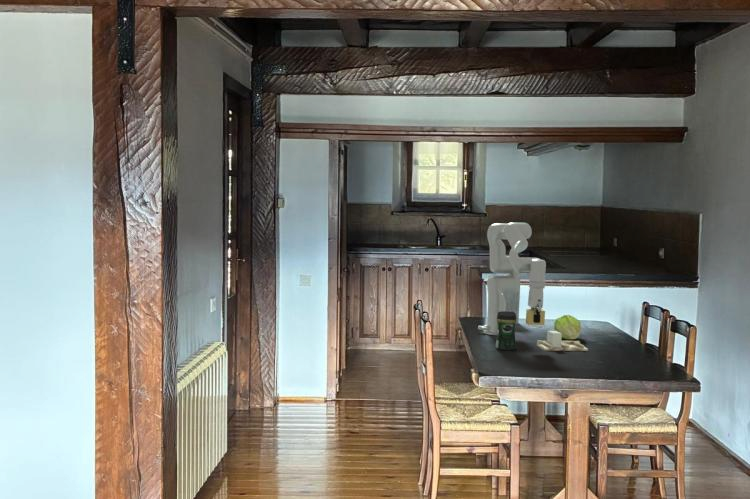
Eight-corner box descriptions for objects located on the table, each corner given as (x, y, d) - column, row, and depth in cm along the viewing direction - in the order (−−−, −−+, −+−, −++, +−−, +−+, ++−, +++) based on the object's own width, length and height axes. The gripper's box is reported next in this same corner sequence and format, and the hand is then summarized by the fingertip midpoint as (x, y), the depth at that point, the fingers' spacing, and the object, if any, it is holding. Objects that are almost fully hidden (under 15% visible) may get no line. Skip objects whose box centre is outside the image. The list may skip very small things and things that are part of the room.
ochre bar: (528, 324, 372) (529, 310, 371) (525, 323, 376) (526, 309, 376) (544, 325, 372) (545, 310, 372) (541, 323, 377) (542, 309, 376)
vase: (519, 324, 446) (521, 278, 443) (502, 324, 446) (504, 278, 444) (516, 321, 456) (518, 276, 453) (500, 321, 456) (502, 276, 454)
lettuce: (557, 332, 393) (580, 318, 392) (547, 319, 415) (570, 307, 414) (568, 352, 396) (592, 339, 394) (559, 339, 417) (581, 327, 416)
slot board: (544, 350, 374) (545, 345, 374) (536, 345, 386) (537, 340, 385) (587, 350, 376) (588, 345, 376) (578, 345, 388) (579, 340, 388)
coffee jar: (513, 347, 378) (515, 310, 377) (516, 350, 371) (518, 313, 369) (494, 346, 379) (495, 309, 377) (496, 350, 371) (498, 312, 369)
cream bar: (546, 344, 384) (547, 330, 383) (555, 344, 384) (555, 330, 384) (552, 347, 376) (552, 333, 375) (561, 347, 376) (561, 333, 376)
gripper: (524, 282, 381) (522, 318, 382) (534, 286, 364) (532, 324, 365) (539, 282, 381) (537, 318, 383) (550, 287, 365) (548, 324, 366)
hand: (535, 321), depth 374 cm, fingers closed on ochre bar, 4 cm apart
